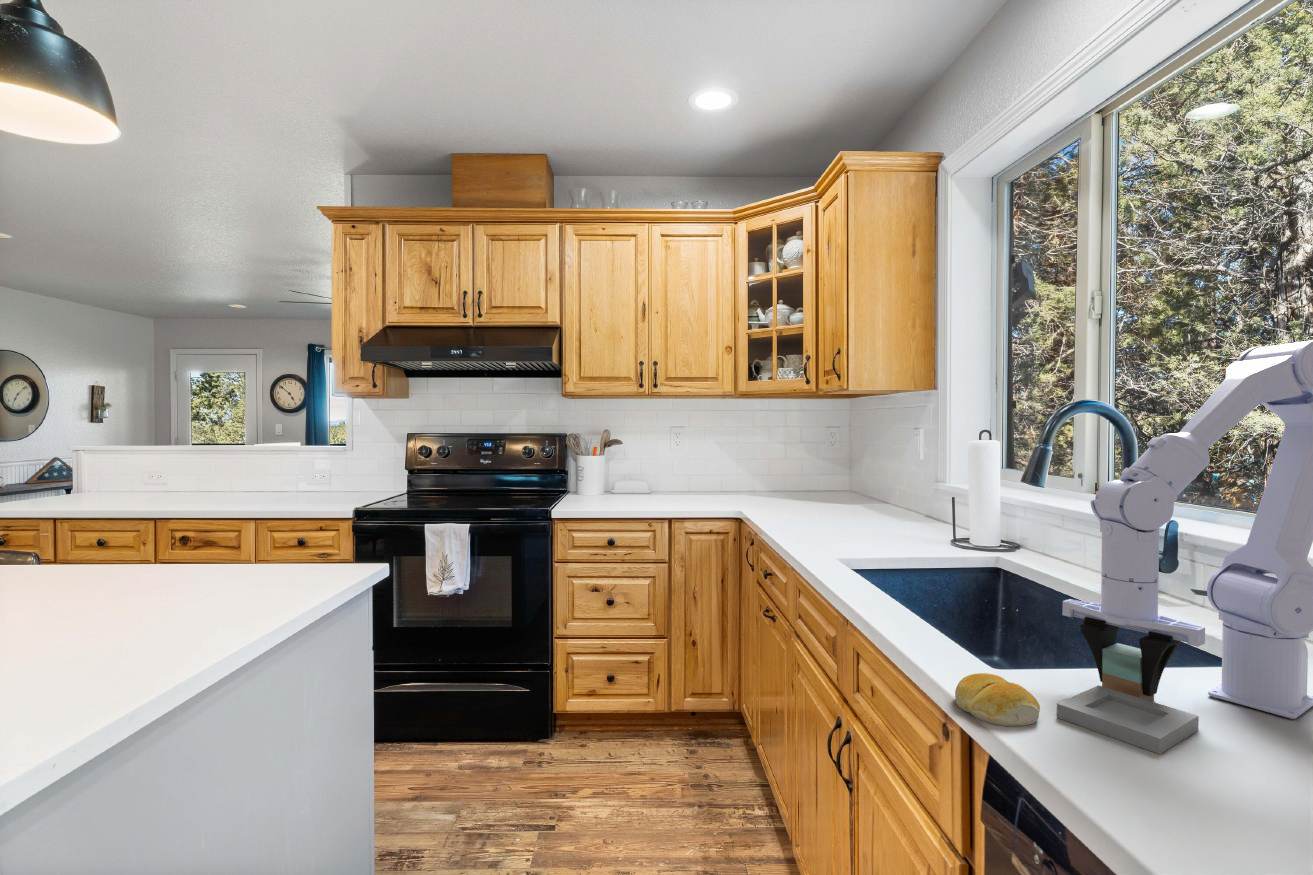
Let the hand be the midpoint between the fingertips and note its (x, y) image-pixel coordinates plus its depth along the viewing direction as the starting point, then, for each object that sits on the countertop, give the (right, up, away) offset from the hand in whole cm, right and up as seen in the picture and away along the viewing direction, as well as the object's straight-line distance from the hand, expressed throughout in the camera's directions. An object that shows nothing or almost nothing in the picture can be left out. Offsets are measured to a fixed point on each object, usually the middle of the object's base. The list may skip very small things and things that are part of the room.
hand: (1127, 687), depth 80 cm
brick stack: (0, -1, 0) cm, 1 cm away
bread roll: (-18, -2, -3) cm, 18 cm away
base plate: (-5, -2, -7) cm, 9 cm away
